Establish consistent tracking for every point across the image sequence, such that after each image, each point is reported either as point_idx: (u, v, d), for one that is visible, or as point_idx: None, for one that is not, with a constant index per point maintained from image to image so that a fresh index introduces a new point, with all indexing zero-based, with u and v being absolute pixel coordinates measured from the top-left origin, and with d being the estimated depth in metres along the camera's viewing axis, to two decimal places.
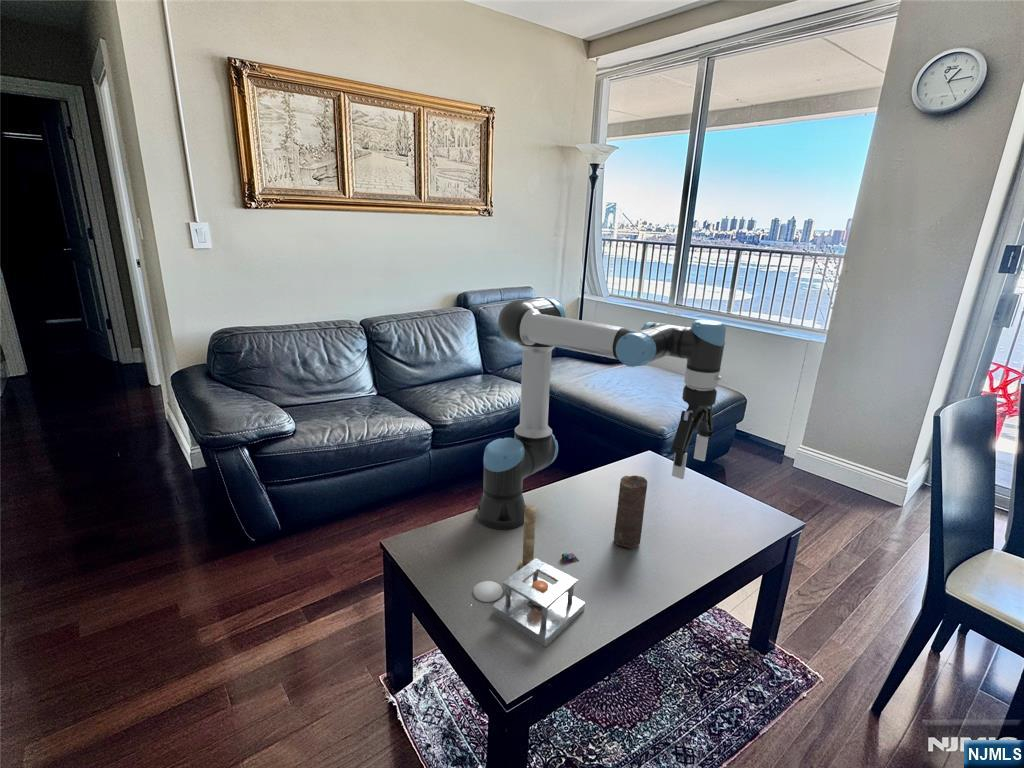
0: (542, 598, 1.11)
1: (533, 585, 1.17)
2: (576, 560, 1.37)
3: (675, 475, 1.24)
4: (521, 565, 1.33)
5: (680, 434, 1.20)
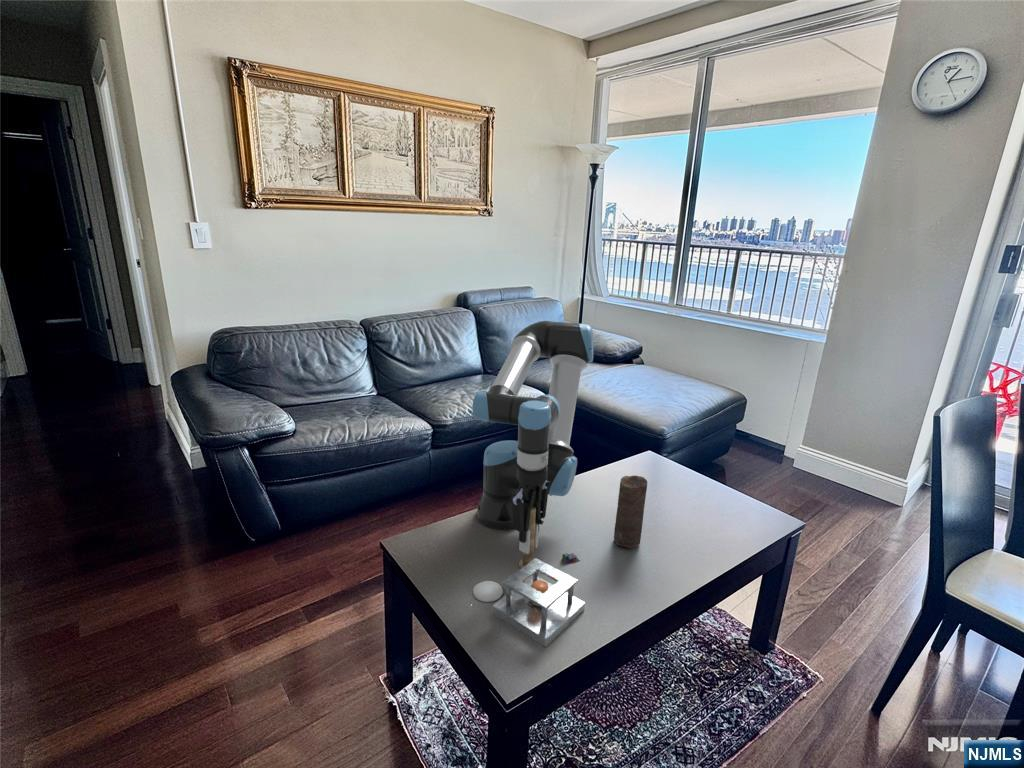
0: (542, 598, 1.11)
1: (533, 585, 1.17)
2: (577, 560, 1.37)
3: (521, 550, 1.31)
4: (521, 565, 1.33)
5: (516, 517, 1.25)
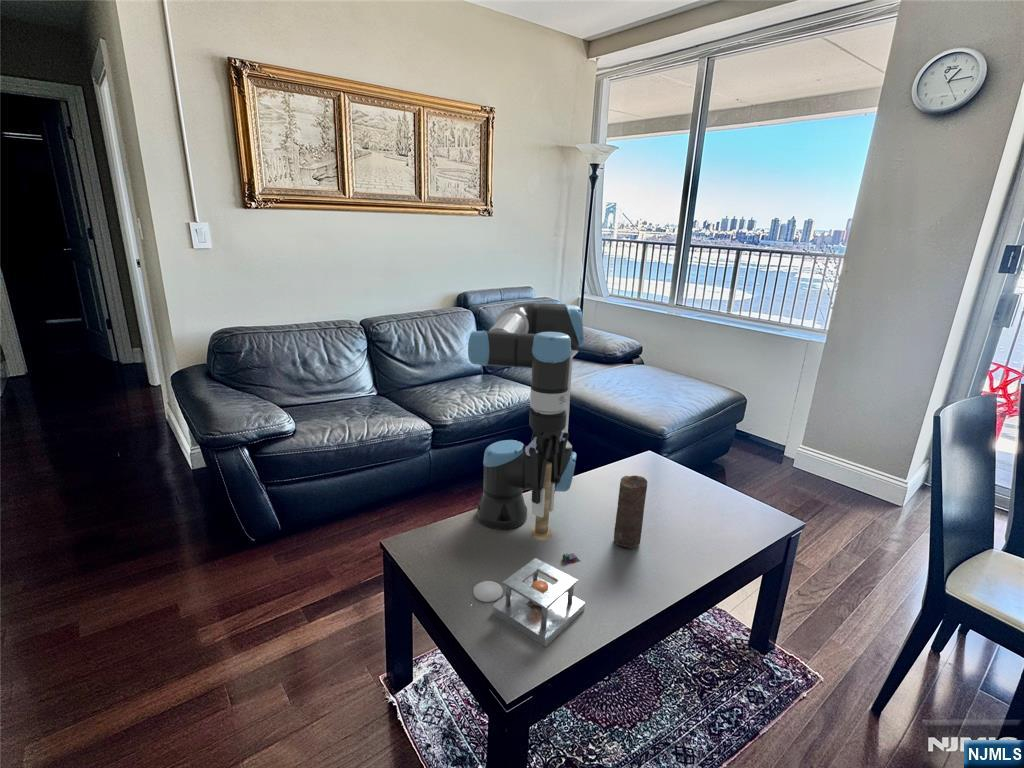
0: (542, 598, 1.11)
1: (533, 585, 1.17)
2: (577, 560, 1.37)
3: (534, 513, 1.11)
4: (534, 532, 1.13)
5: (528, 471, 1.05)
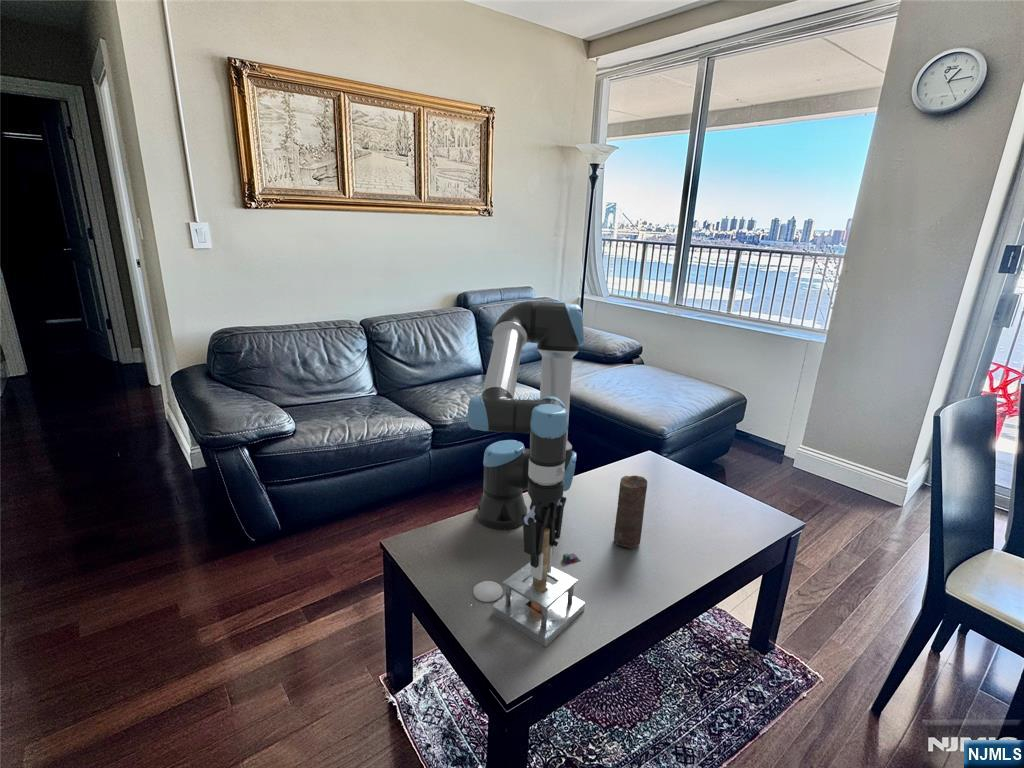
0: (542, 598, 1.11)
1: None
2: (577, 560, 1.37)
3: (533, 575, 1.14)
4: None
5: (527, 538, 1.08)
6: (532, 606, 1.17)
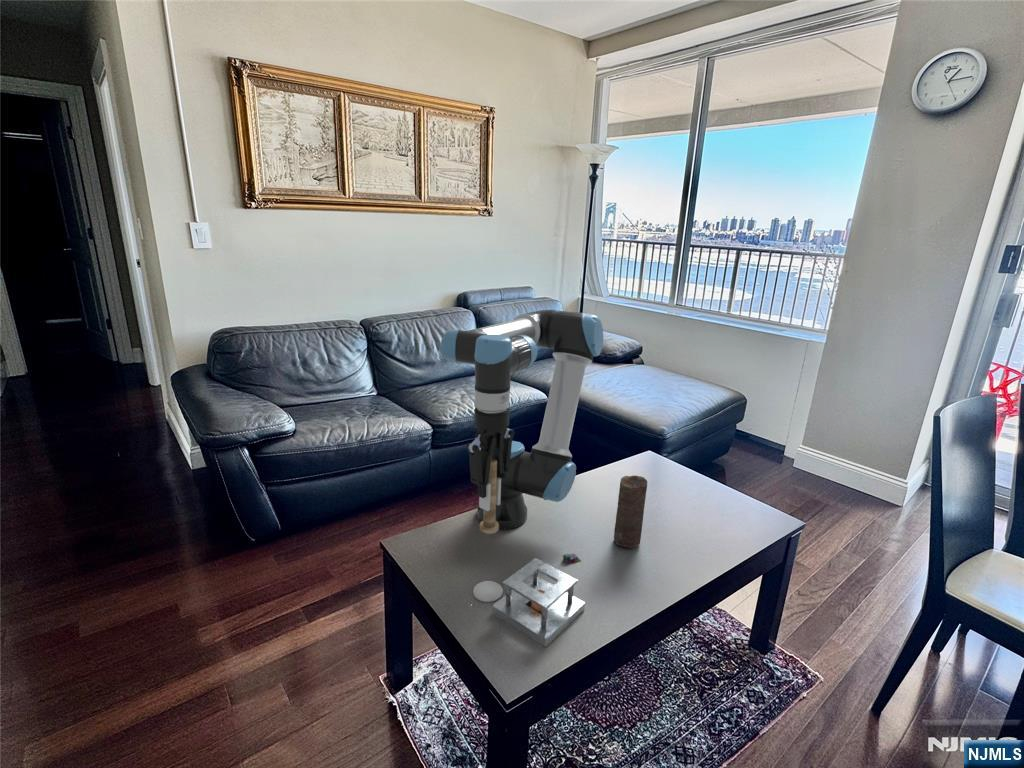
0: (542, 598, 1.11)
1: None
2: (578, 560, 1.37)
3: (481, 506, 1.16)
4: (481, 526, 1.18)
5: (473, 467, 1.10)
6: (532, 606, 1.17)
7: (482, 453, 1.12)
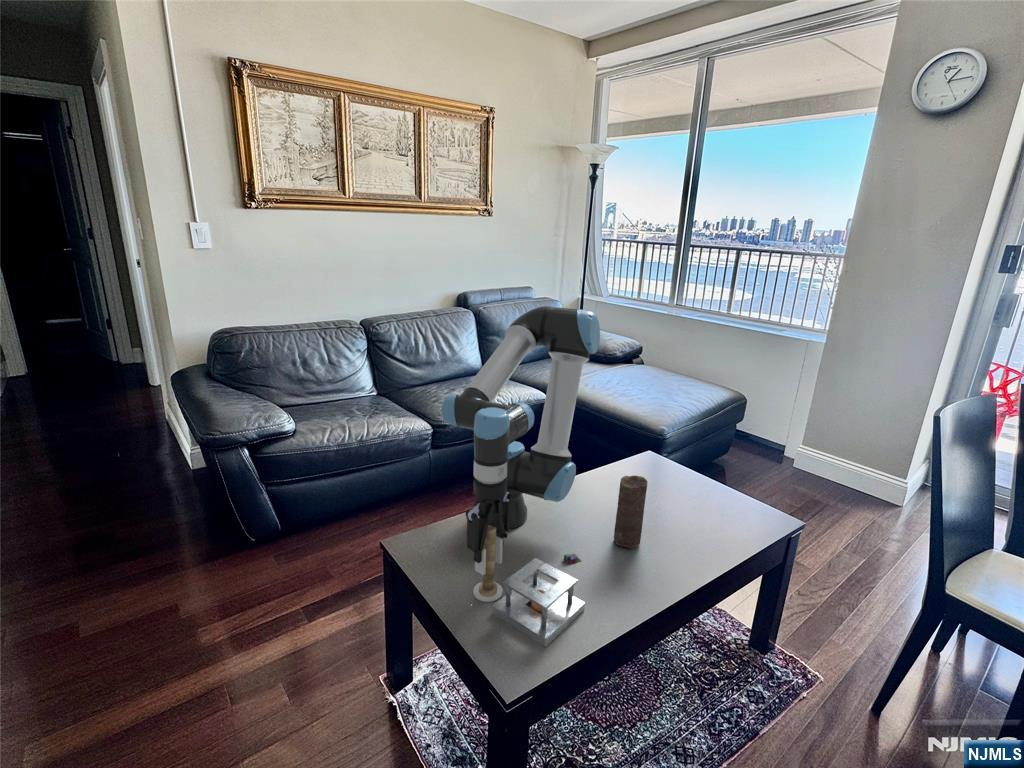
0: (542, 598, 1.11)
1: None
2: (578, 560, 1.37)
3: (477, 570, 1.20)
4: (481, 589, 1.23)
5: (470, 534, 1.15)
6: (532, 606, 1.17)
7: (480, 520, 1.17)
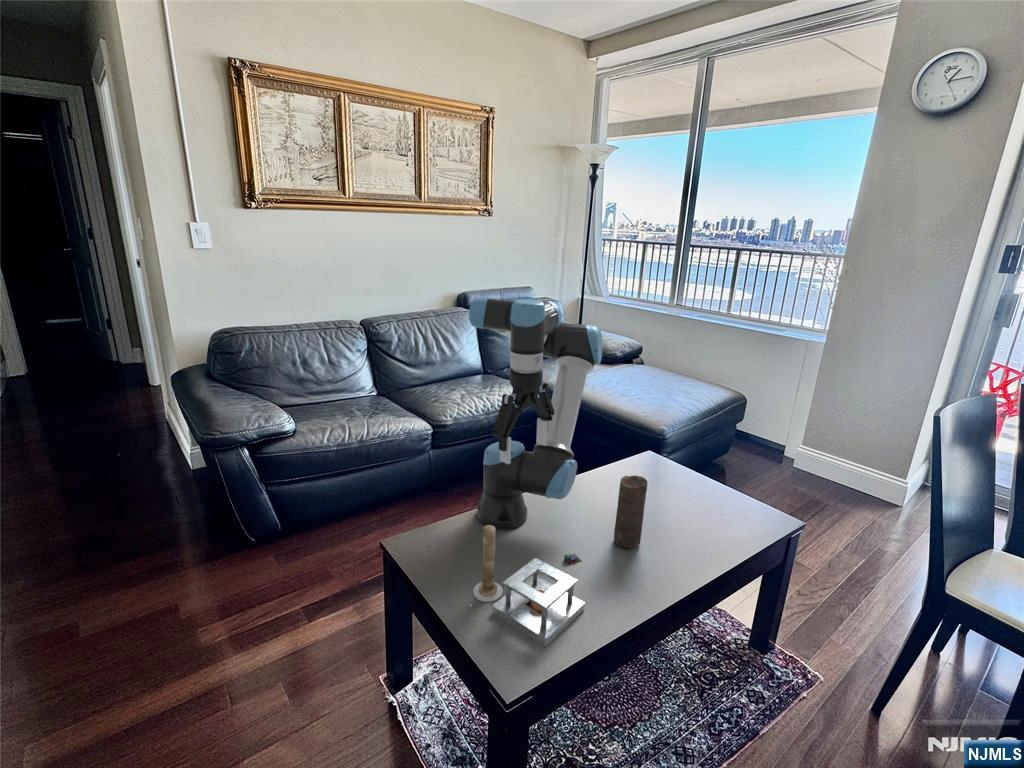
0: (542, 598, 1.11)
1: None
2: (579, 561, 1.37)
3: (502, 460, 1.21)
4: (481, 589, 1.23)
5: (500, 418, 1.16)
6: (532, 606, 1.17)
7: (512, 408, 1.19)
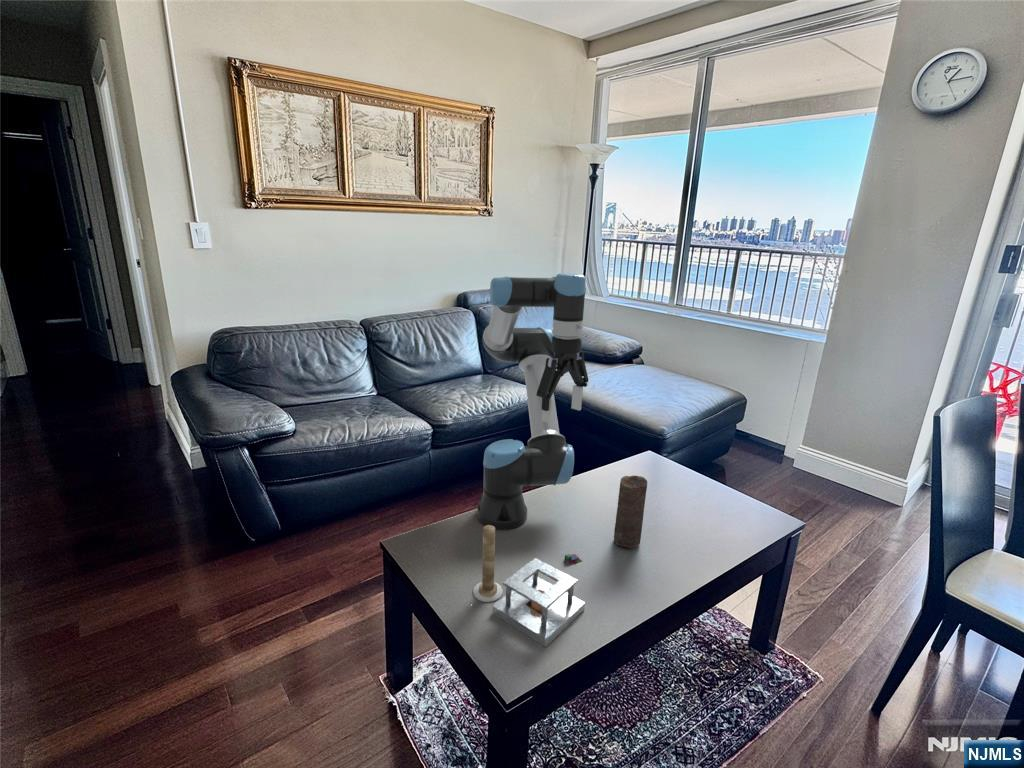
0: (542, 598, 1.11)
1: None
2: (579, 561, 1.37)
3: (544, 420, 1.32)
4: (481, 589, 1.23)
5: (544, 380, 1.28)
6: (532, 606, 1.17)
7: (554, 372, 1.31)
